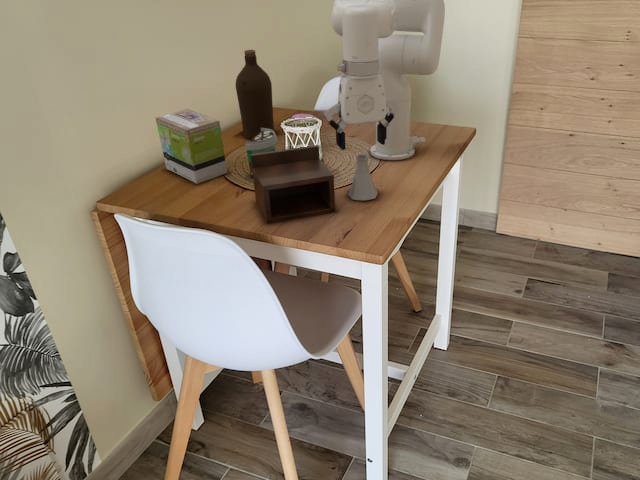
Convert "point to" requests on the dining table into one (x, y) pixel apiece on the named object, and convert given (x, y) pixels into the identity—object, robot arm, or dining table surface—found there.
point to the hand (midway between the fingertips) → (361, 145)
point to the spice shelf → (292, 184)
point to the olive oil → (254, 97)
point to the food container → (261, 144)
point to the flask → (362, 181)
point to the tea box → (192, 145)
